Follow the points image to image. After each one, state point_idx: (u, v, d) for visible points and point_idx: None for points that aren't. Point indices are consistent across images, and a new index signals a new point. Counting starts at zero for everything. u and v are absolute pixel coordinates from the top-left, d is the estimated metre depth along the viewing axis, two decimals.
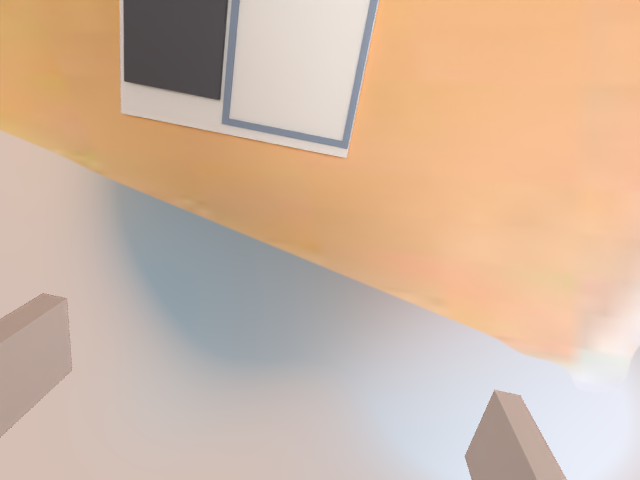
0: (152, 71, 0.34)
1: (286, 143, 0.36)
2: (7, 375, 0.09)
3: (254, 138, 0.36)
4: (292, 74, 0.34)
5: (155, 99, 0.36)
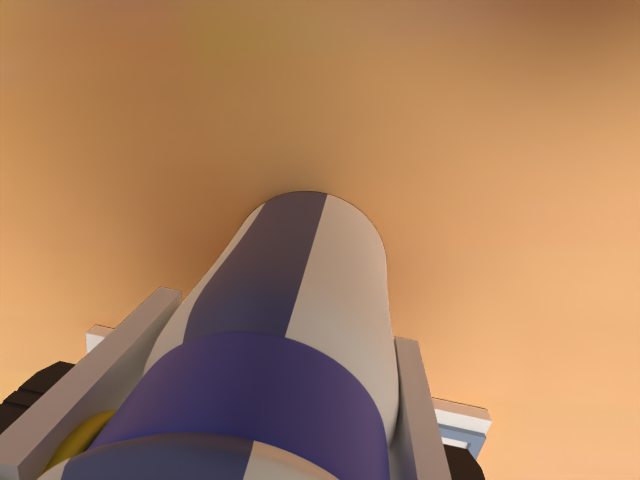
0: None
1: None
2: (147, 356, 0.11)
3: None
4: None
5: None
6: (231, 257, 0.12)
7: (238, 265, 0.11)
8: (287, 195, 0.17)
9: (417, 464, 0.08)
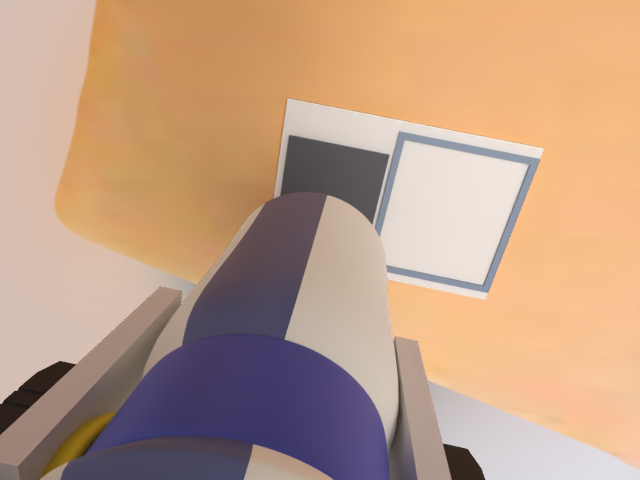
0: None
1: (426, 285, 0.37)
2: (147, 356, 0.11)
3: (395, 280, 0.37)
4: (441, 227, 0.35)
5: None
6: (231, 258, 0.12)
7: (238, 267, 0.11)
8: (287, 196, 0.17)
9: (417, 464, 0.08)
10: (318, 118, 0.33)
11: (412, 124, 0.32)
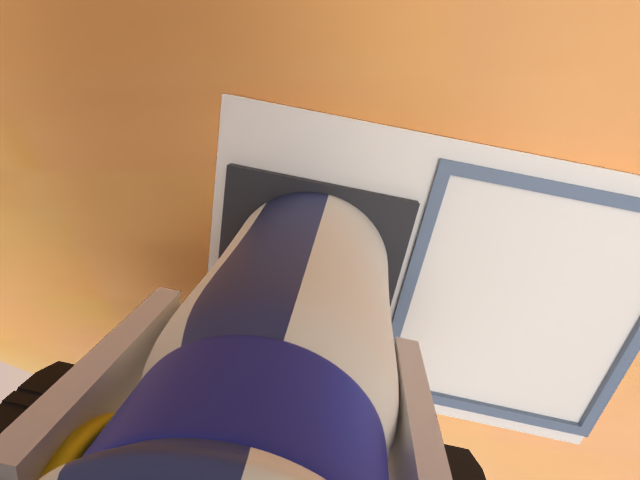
0: None
1: (478, 419, 0.21)
2: (146, 356, 0.11)
3: None
4: (510, 329, 0.19)
5: None
6: (231, 259, 0.12)
7: (238, 267, 0.11)
8: (288, 195, 0.17)
9: (418, 465, 0.08)
10: (282, 132, 0.17)
11: (466, 144, 0.16)
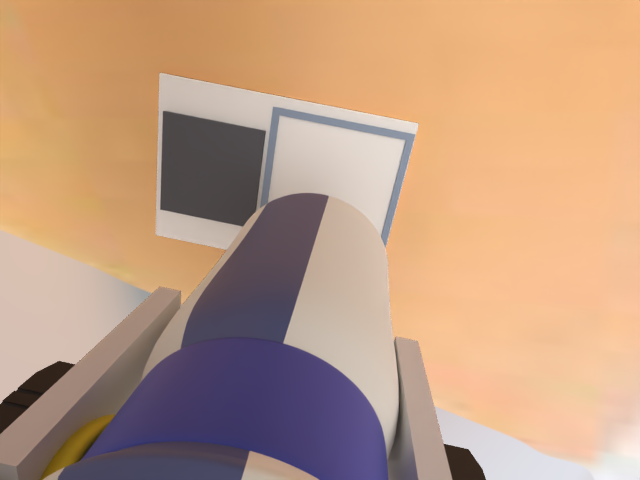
0: (188, 202, 0.35)
1: None
2: (146, 356, 0.11)
3: None
4: None
5: (189, 224, 0.36)
6: (231, 260, 0.12)
7: (238, 269, 0.11)
8: (288, 197, 0.17)
9: (418, 464, 0.08)
10: (191, 93, 0.32)
11: (285, 99, 0.32)
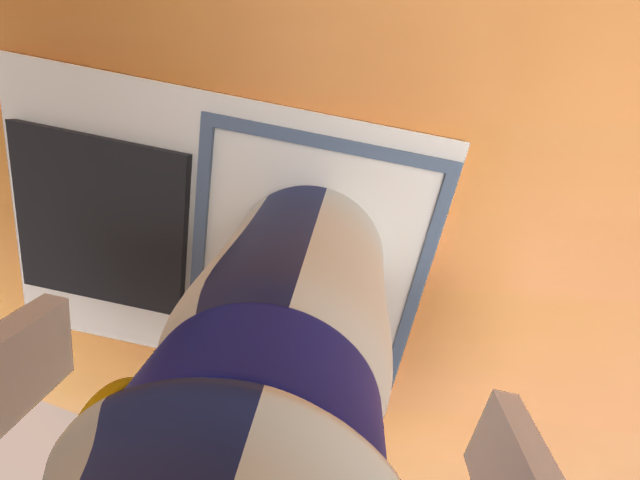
0: (69, 272, 0.21)
1: None
2: (9, 375, 0.09)
3: None
4: None
5: (79, 305, 0.22)
6: (237, 242, 0.12)
7: (244, 248, 0.11)
8: (288, 189, 0.18)
9: None
10: (56, 87, 0.18)
11: (224, 97, 0.17)
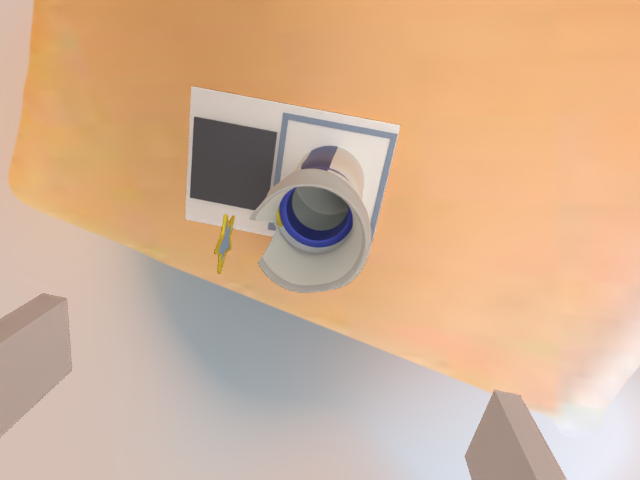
0: (213, 191, 0.43)
1: None
2: (7, 375, 0.09)
3: None
4: (326, 193, 0.42)
5: (213, 210, 0.44)
6: (307, 159, 0.35)
7: (311, 159, 0.33)
8: (321, 147, 0.40)
9: None
10: (217, 102, 0.40)
11: (293, 106, 0.39)
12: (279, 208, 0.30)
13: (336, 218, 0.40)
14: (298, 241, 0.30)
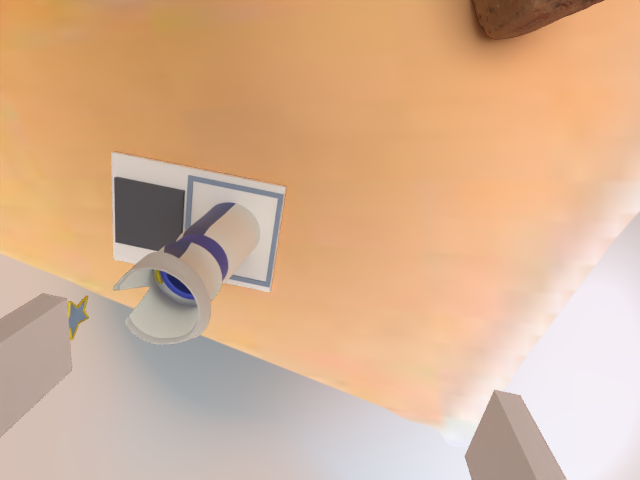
0: (134, 237, 0.50)
1: (228, 282, 0.52)
2: (7, 375, 0.09)
3: None
4: None
5: (137, 252, 0.51)
6: (196, 222, 0.42)
7: (197, 223, 0.41)
8: (221, 203, 0.47)
9: None
10: (133, 165, 0.47)
11: (196, 170, 0.47)
12: (159, 269, 0.37)
13: None
14: (177, 294, 0.38)
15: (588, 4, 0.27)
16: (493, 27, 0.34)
